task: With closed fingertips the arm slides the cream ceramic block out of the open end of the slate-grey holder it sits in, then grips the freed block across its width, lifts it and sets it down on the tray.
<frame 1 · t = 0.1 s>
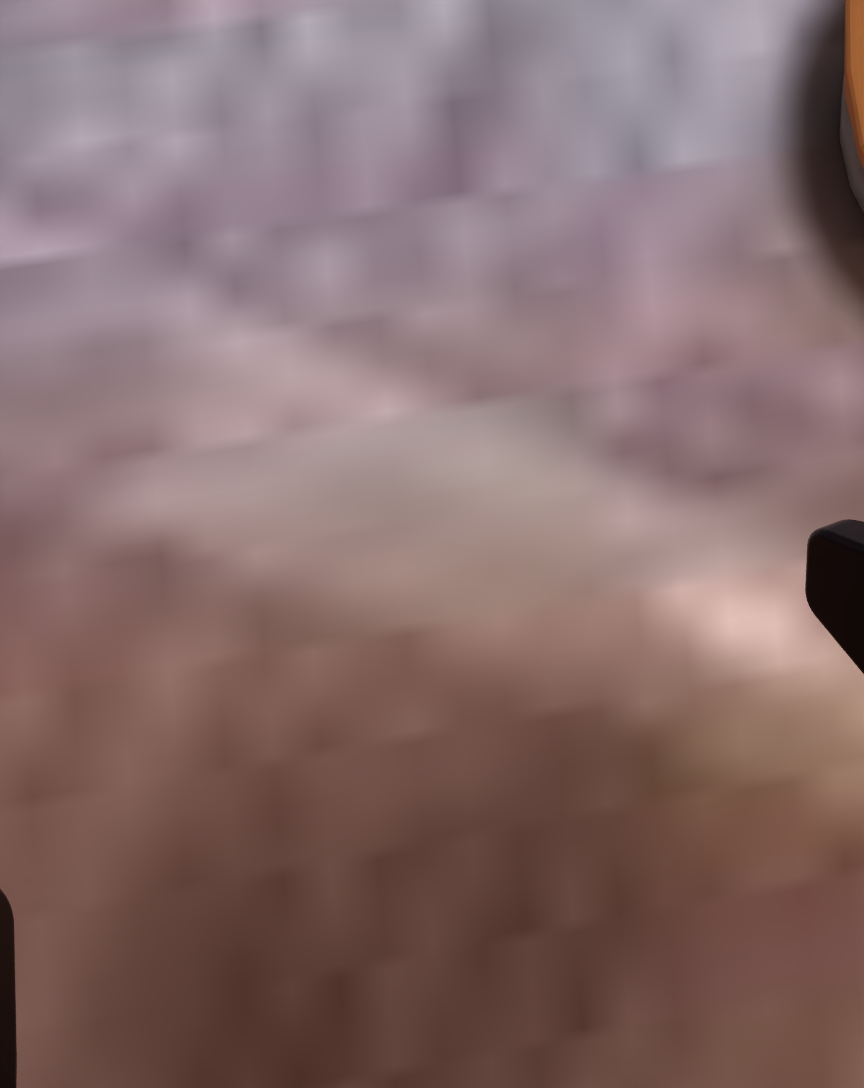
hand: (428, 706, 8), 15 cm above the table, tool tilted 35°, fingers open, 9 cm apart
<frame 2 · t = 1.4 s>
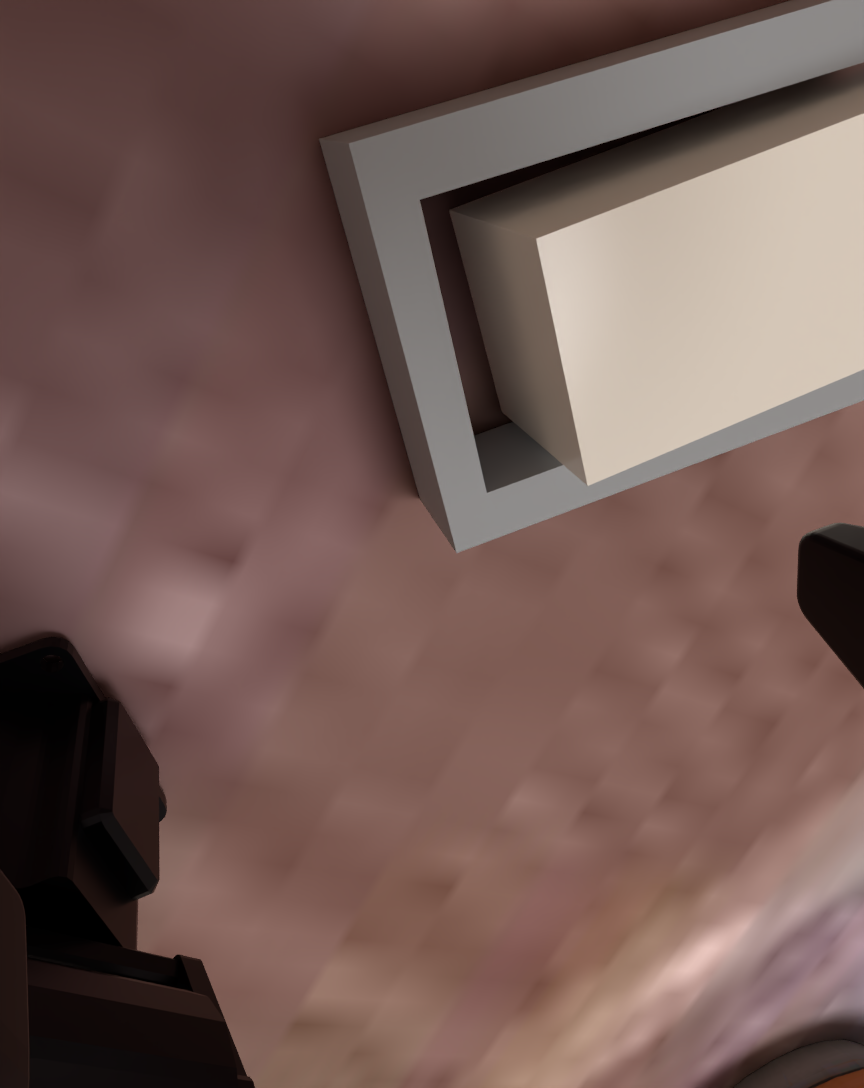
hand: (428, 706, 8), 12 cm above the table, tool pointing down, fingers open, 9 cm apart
holder: (646, 250, 19), on the table
block: (659, 243, 20), resting in holder
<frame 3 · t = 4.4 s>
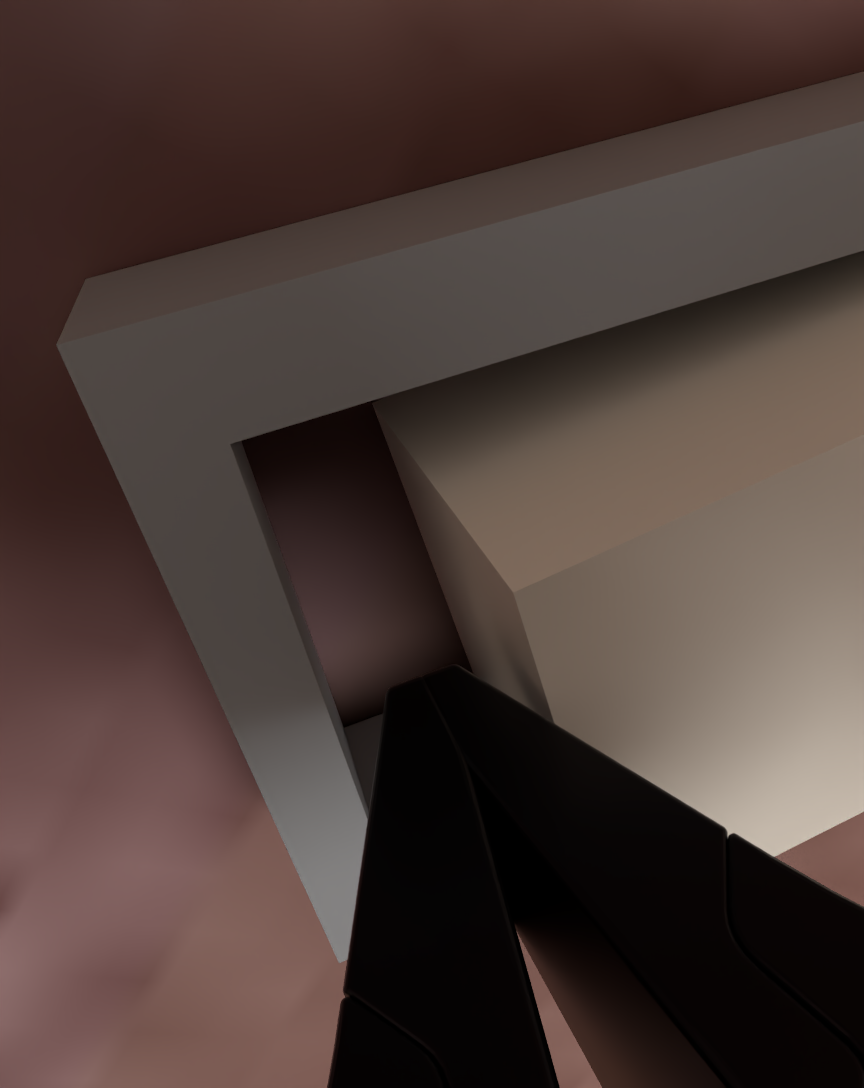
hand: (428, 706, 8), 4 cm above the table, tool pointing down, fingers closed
holder: (670, 441, 12), on the table
block: (723, 421, 12), resting in holder, touching gripper
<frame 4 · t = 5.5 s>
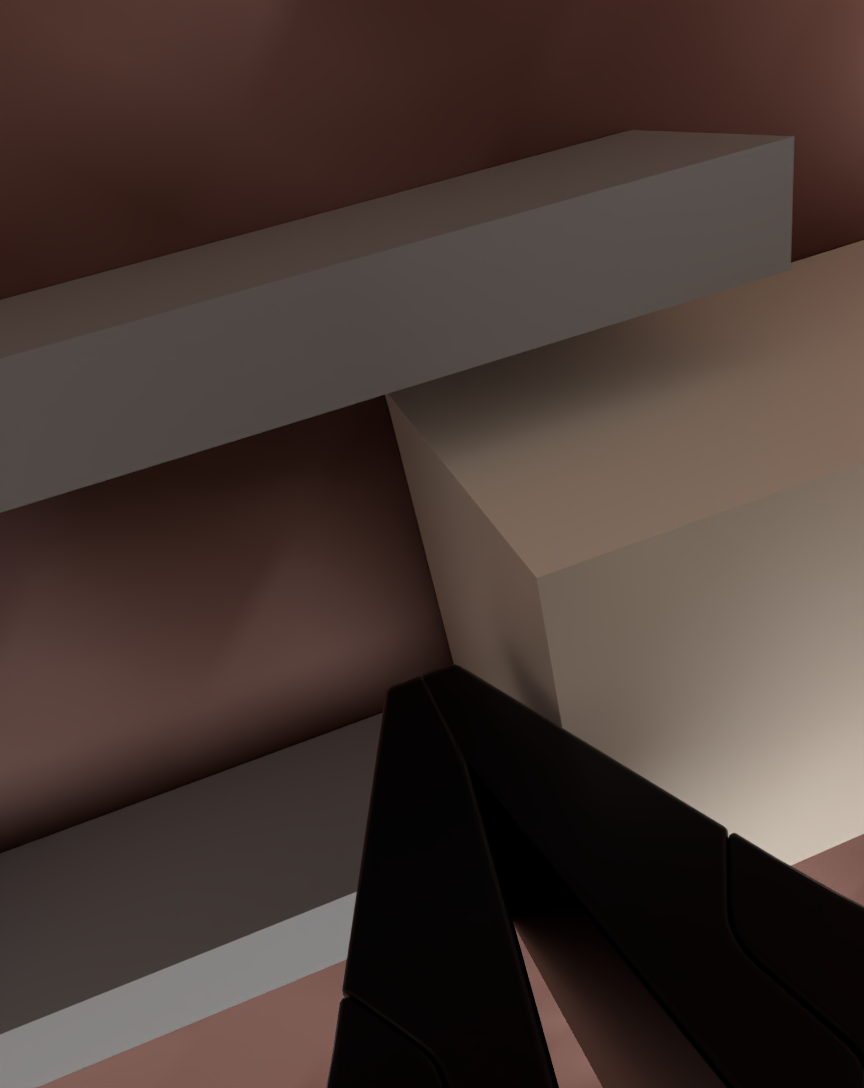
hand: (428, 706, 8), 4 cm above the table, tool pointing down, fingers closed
holder: (264, 575, 11), on the table
block: (727, 444, 12), on the table, touching gripper
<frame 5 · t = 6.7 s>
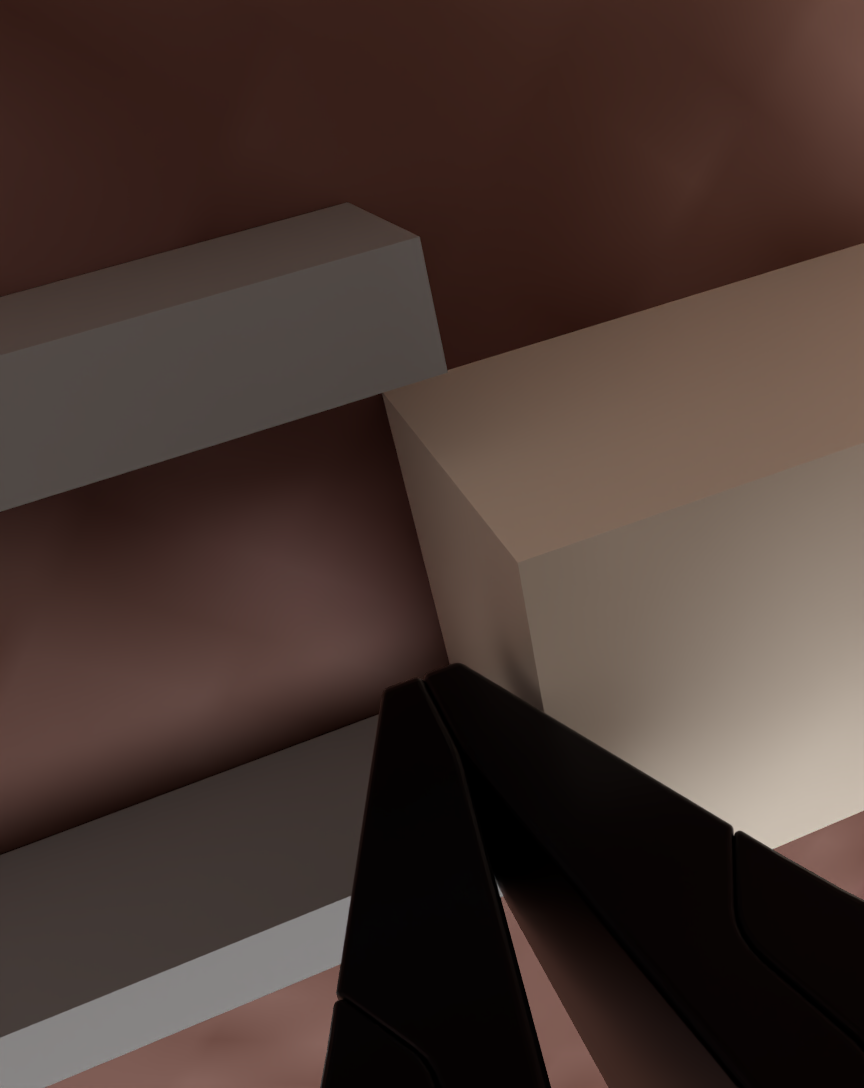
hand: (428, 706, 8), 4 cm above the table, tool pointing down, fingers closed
block: (714, 441, 13), on the table
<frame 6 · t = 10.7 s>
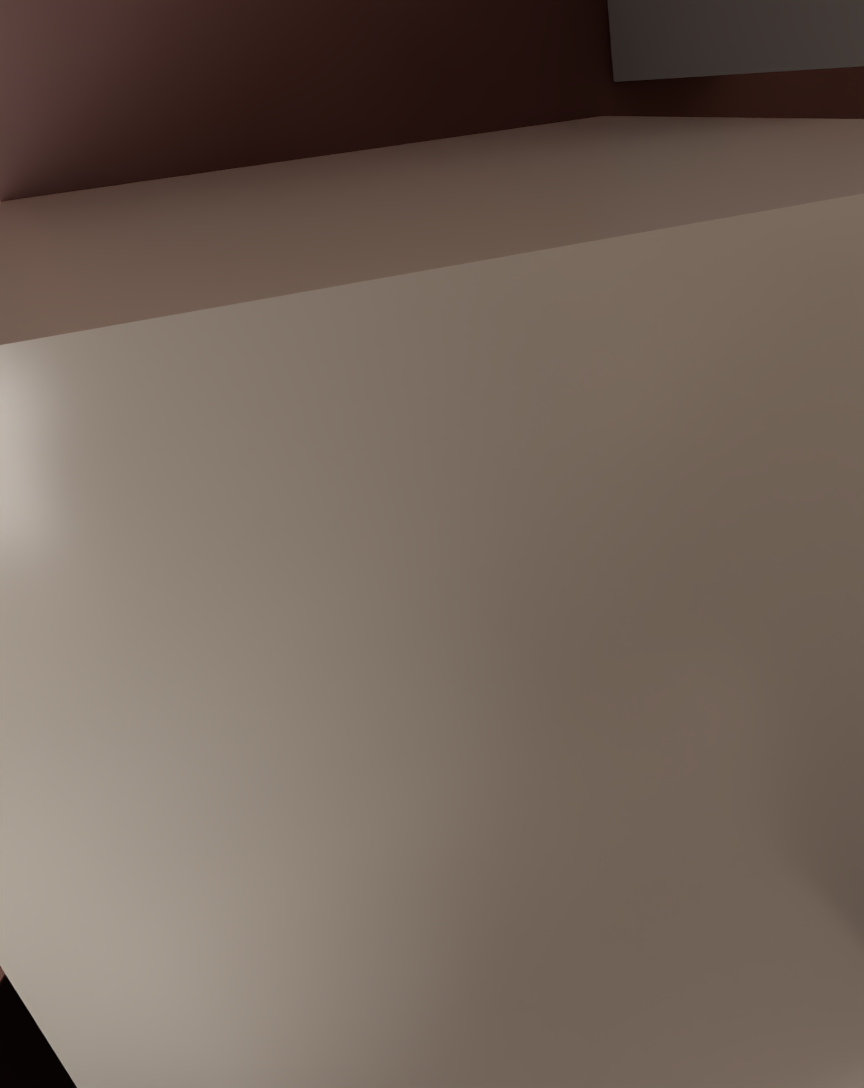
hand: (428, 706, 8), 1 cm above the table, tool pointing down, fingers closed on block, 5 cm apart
block: (401, 643, 9), on the table, touching gripper
when the fingers open (6 cm above the table, at t = 14.3 s): block stays where it is, resting on tray.
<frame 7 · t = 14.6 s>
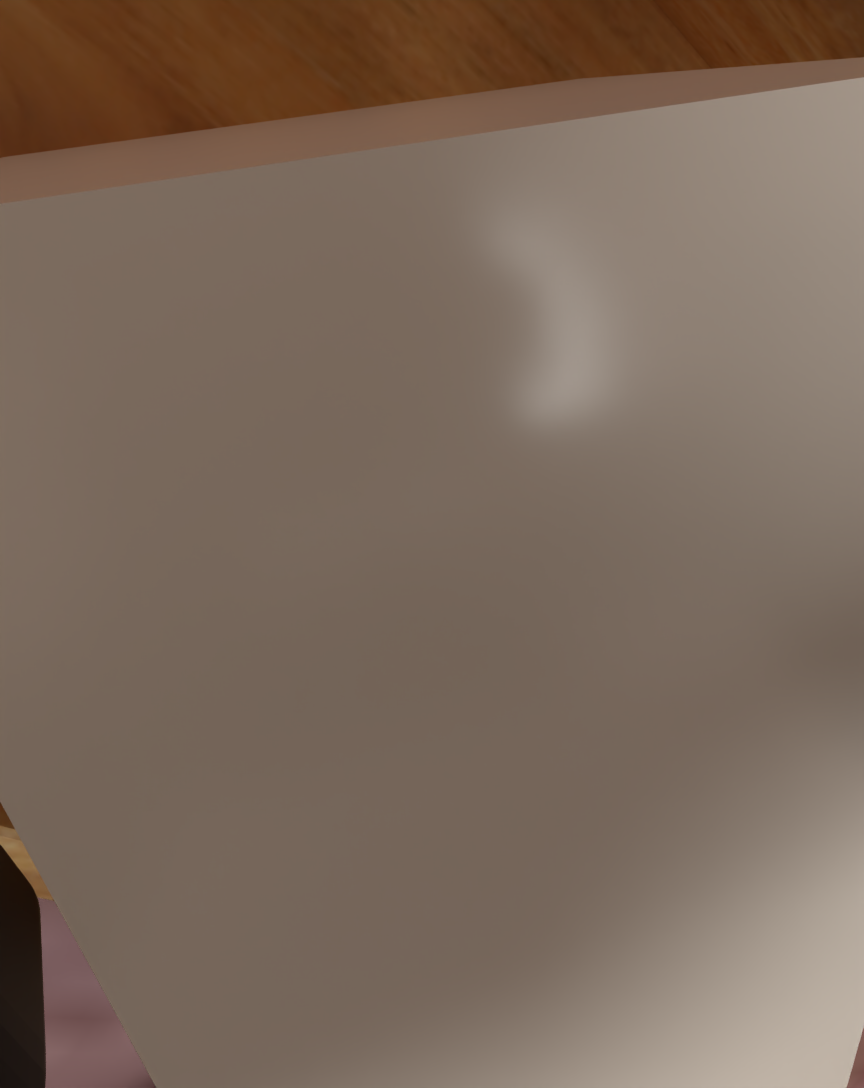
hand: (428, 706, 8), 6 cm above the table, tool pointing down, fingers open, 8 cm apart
tray: (283, 300, 13), on the table, touching block
block: (391, 597, 9), point 5 cm above the table, touching tray
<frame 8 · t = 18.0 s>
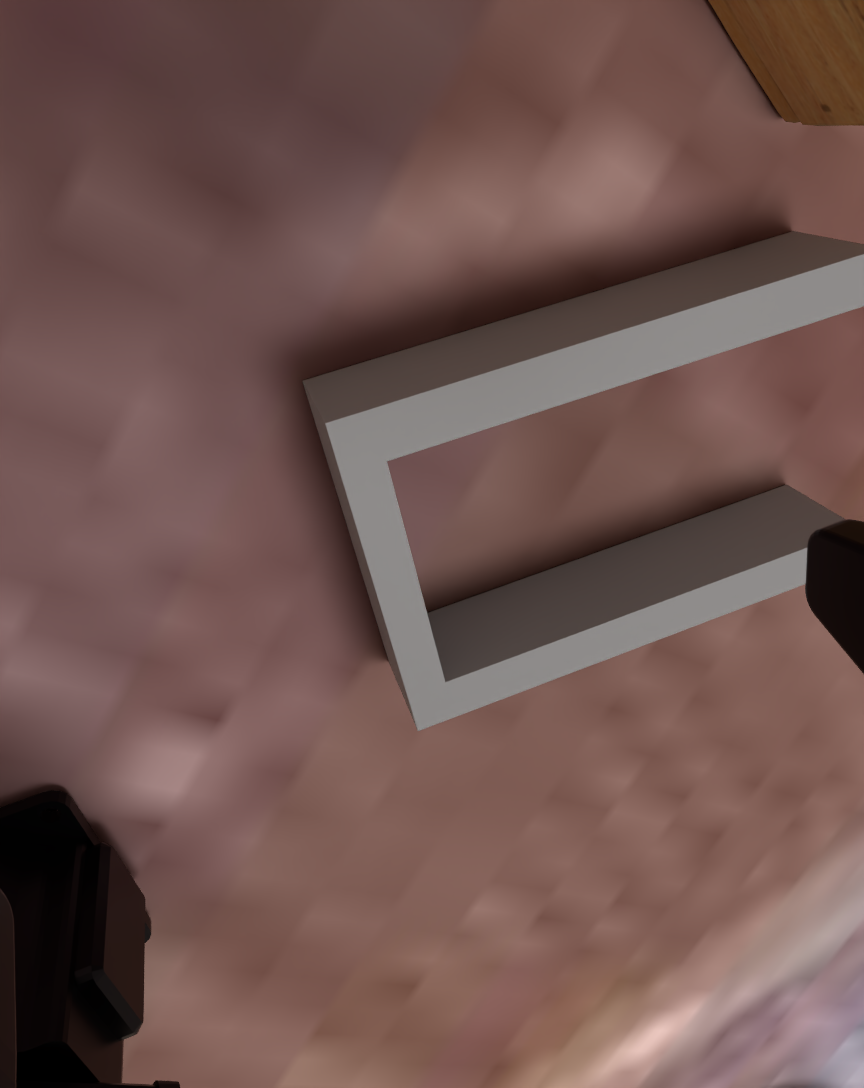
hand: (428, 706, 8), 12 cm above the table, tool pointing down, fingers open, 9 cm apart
holder: (596, 453, 22), on the table
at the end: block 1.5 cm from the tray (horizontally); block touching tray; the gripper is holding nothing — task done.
